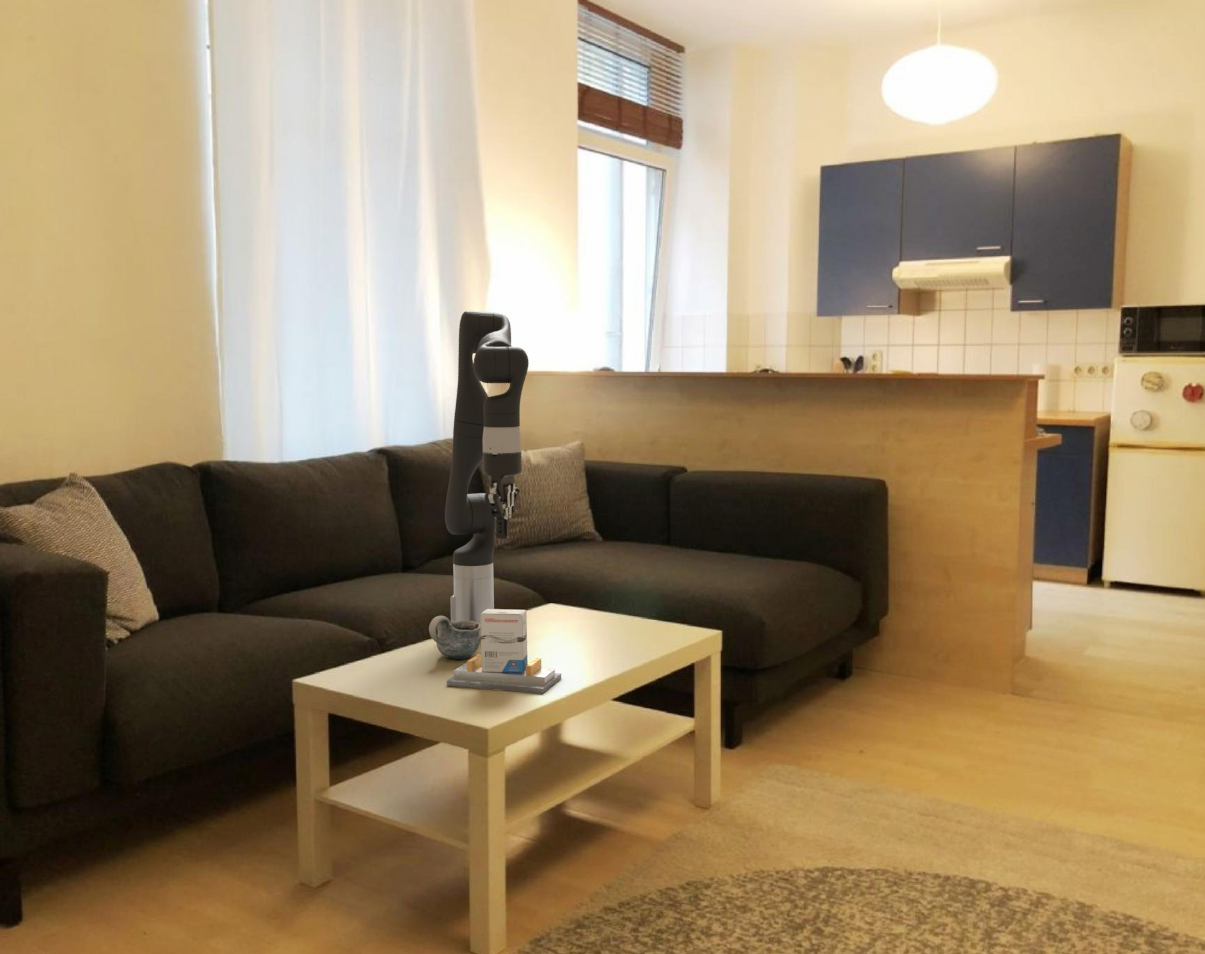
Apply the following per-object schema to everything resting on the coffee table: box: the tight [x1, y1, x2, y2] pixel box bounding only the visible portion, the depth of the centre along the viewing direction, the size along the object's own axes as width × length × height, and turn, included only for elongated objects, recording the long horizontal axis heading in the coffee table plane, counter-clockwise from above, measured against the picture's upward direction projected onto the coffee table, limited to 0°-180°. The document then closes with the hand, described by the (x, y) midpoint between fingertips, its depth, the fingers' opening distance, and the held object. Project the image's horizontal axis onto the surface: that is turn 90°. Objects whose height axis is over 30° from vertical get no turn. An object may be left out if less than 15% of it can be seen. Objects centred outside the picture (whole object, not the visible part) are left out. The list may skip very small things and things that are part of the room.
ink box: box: [480, 608, 529, 672], centre depth 220 cm, size 8×5×12 cm, turn 83°
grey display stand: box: [446, 653, 562, 695], centre depth 220 cm, size 20×11×4 cm, turn 73°
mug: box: [428, 615, 481, 660], centre depth 238 cm, size 10×12×10 cm
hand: (503, 537), depth 218 cm, fingers closed
